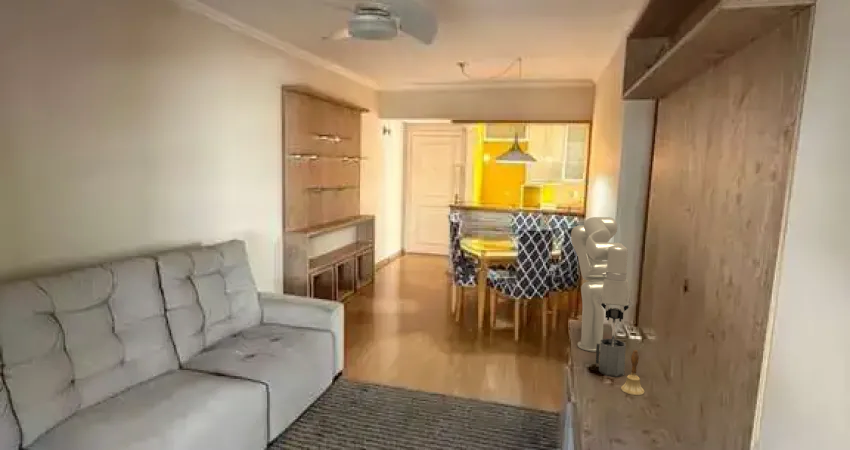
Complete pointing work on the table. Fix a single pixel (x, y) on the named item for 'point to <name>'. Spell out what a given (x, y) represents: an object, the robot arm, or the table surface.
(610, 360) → the grey octagonal cup
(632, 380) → the hand bell
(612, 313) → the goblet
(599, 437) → the table surface
